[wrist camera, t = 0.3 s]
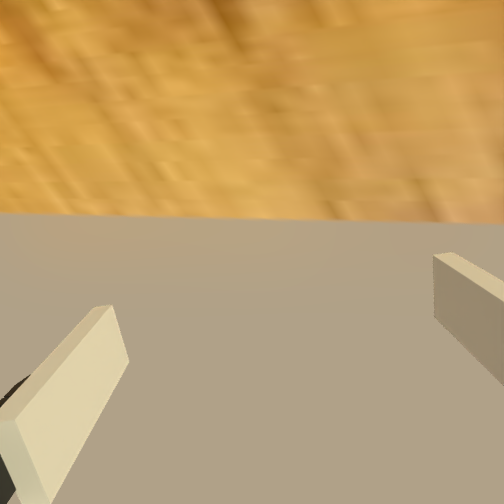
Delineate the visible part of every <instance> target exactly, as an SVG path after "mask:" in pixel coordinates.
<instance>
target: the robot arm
mask: <svg viewBox="0 0 504 504" xmlns="http://www.w3.org/2000/svg"><path fill="white" fill-rule="evenodd" d="M433 279H434V317H435V318H436V319H437V320H438V321H439V322H440V323H441V324H442V325H443V326H444V327H445V328H446V329H447V330H448V331H449V332H450V333H451V334H452V335H453V336H454V337H455V338H456V339H457V340H458V341H459V342H460V343H461V344H462V345H463V346H464V347H465V348H466V349H467V350H468V351H469V352H470V353H471V354H472V355H473V356H474V357H475V358H476V359H477V360H478V361H479V362H480V363H481V364H482V365H483V366H484V367H485V368H486V369H487V370H488V371H489V372H490V373H491V374H492V375H493V376H494V377H495V378H496V379H497V380H498V381H499V382H500V383H501V384H502V385H503V386H504V281H502V280H500V279H498V278H496V277H495V276H493V275H491V274H490V273H488V272H486V271H484V270H482V269H481V268H479V267H478V266H476V265H474V264H472V263H471V262H469V261H467V260H465V259H464V258H462V257H460V256H458V255H457V254H455V253H453V252H449V253H443V254H437V255H433ZM128 363H129V359H128V356H127V352H126V349H125V346H124V342H123V339H122V336H121V332H120V329H119V326H118V322H117V319H116V316H115V312H114V309H113V306H112V305H104V306H98V307H94V308H93V309H92V310H91V311H90V312H89V313H88V314H87V316H85V318H84V319H83V320H82V321H81V322H80V323H79V324H78V325H77V326H76V327H75V328H74V329H73V330H72V331H71V332H70V334H69V335H68V336H67V337H66V338H65V339H64V340H63V341H62V342H61V343H60V344H59V346H57V348H56V349H55V350H54V351H53V352H52V353H51V354H50V355H49V356H48V357H47V358H46V359H45V360H44V361H43V363H42V364H41V365H40V366H39V367H38V368H37V369H36V370H35V371H34V372H33V373H32V374H31V375H29V376H27V377H26V378H24V379H23V380H22V381H20V382H19V383H17V384H16V385H15V386H14V387H13V388H12V389H11V390H10V391H9V392H8V393H7V394H6V395H5V396H4V398H2V399H1V400H0V504H7V502H8V501H9V500H10V498H11V497H12V495H13V493H14V492H15V491H16V493H17V496H18V498H19V500H20V502H21V504H51V503H52V501H53V499H54V497H55V495H56V494H57V492H58V490H59V488H60V486H61V485H62V483H63V481H64V479H65V477H66V476H67V474H68V472H69V470H70V468H71V467H72V465H73V463H74V461H75V459H76V457H77V455H78V454H79V452H80V450H81V448H82V447H83V445H84V443H85V441H86V439H87V437H88V435H89V434H90V432H91V430H92V428H93V427H94V425H95V423H96V421H97V419H98V418H99V415H100V414H101V412H102V410H103V408H104V407H105V405H106V403H107V401H108V399H109V398H110V396H111V394H112V392H113V390H114V388H115V387H116V385H117V383H118V381H119V379H120V377H121V376H122V374H123V372H124V370H125V368H126V367H127V365H128Z"/></svg>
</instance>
